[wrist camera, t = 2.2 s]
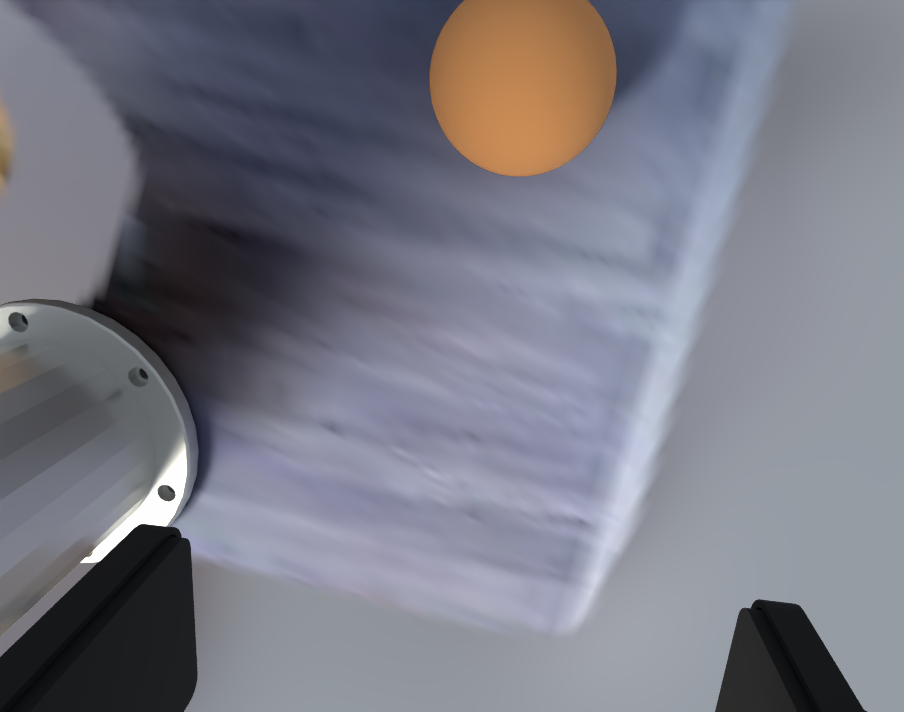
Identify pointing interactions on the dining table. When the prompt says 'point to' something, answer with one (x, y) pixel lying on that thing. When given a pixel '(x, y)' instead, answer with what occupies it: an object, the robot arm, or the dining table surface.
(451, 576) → the dining table surface
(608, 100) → the ball
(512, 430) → the dining table surface
